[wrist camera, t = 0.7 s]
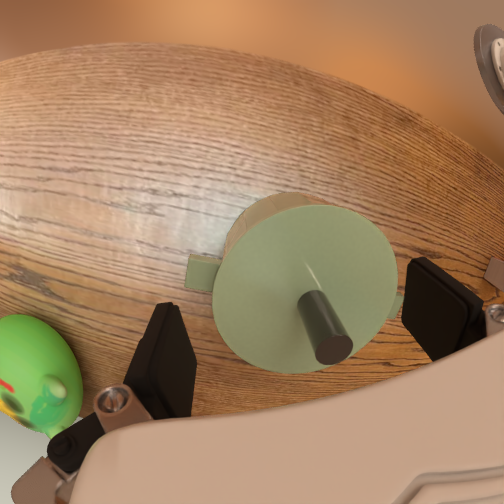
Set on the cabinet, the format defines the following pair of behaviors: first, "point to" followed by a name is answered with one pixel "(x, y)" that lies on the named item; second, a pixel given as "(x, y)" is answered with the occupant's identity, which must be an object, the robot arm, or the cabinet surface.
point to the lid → (304, 288)
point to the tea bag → (495, 273)
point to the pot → (205, 268)
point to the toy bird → (38, 376)
